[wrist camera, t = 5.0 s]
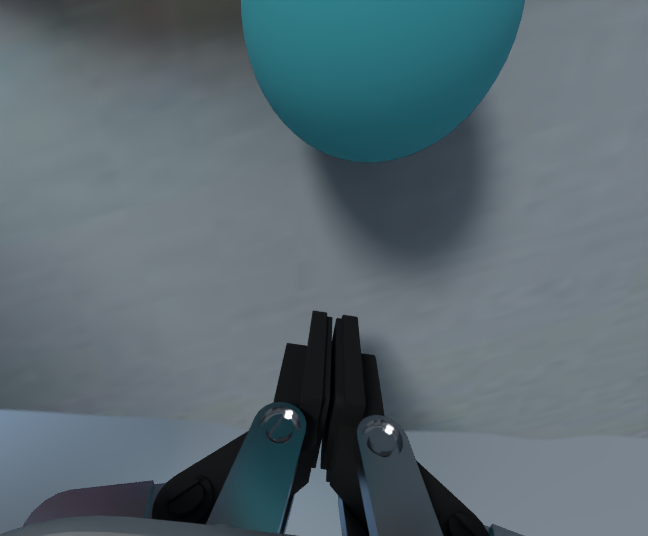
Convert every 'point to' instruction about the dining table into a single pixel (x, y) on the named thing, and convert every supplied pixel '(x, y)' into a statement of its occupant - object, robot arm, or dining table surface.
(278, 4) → the ball
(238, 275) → the dining table surface
